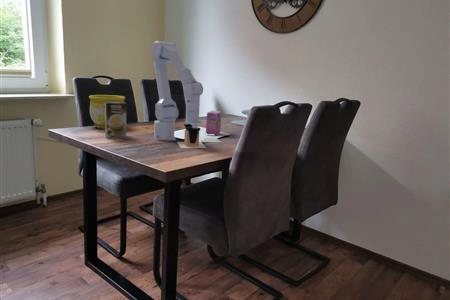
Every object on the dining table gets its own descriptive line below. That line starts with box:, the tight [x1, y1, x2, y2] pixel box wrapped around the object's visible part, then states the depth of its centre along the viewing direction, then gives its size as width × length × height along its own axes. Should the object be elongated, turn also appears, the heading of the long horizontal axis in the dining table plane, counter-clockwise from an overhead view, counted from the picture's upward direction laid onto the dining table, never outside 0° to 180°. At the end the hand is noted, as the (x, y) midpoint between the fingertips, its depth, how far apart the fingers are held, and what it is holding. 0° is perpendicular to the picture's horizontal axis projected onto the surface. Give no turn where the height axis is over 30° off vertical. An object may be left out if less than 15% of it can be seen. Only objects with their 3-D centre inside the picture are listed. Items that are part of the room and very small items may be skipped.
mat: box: [200, 137, 222, 143], centre depth 162 cm, size 9×9×1 cm
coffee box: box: [104, 101, 127, 139], centre depth 158 cm, size 9×6×16 cm
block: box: [183, 129, 200, 146], centre depth 149 cm, size 6×6×6 cm
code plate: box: [177, 141, 207, 149], centre depth 150 cm, size 11×12×1 cm
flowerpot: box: [88, 94, 126, 130], centre depth 181 cm, size 18×18×16 cm
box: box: [205, 110, 222, 136], centre depth 179 cm, size 10×6×12 cm, turn 168°
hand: (191, 141), depth 149 cm, fingers closed on block, 5 cm apart
